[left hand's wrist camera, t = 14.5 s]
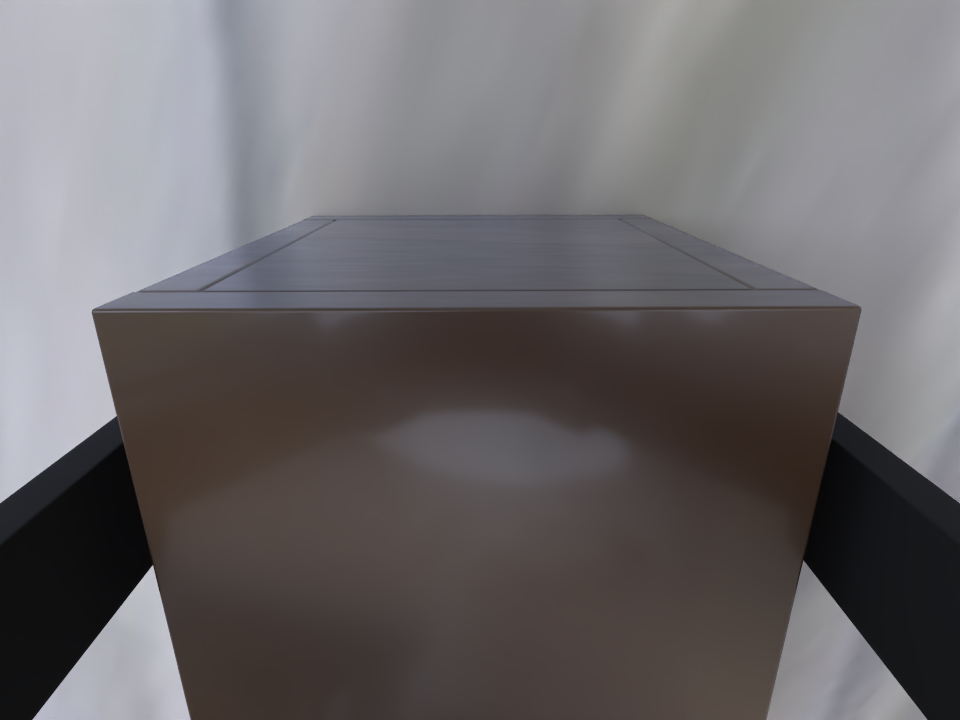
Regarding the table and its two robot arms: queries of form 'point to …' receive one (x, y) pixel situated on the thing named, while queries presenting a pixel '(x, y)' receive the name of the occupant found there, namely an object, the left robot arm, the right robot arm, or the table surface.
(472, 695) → the cabinet
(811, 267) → the table surface
